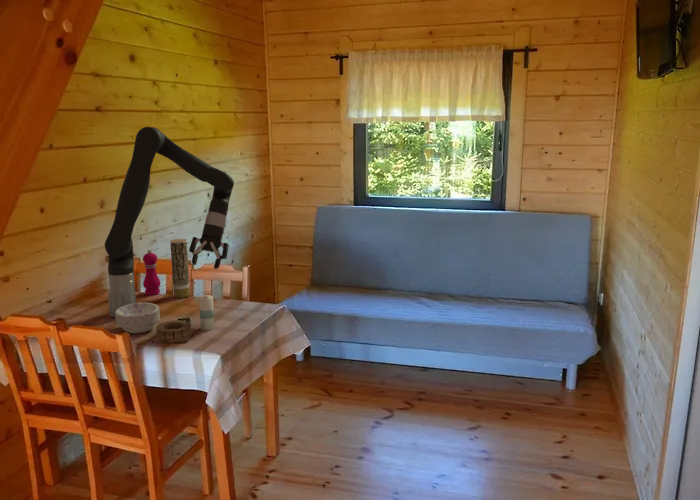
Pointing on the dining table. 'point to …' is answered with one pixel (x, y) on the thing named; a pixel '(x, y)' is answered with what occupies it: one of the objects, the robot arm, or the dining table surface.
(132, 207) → the robot arm
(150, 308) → the paper bowls
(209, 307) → the roll
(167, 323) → the holder
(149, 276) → the pepper mill
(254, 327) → the dining table surface
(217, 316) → the dining table surface
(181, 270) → the bark covered cylinder
